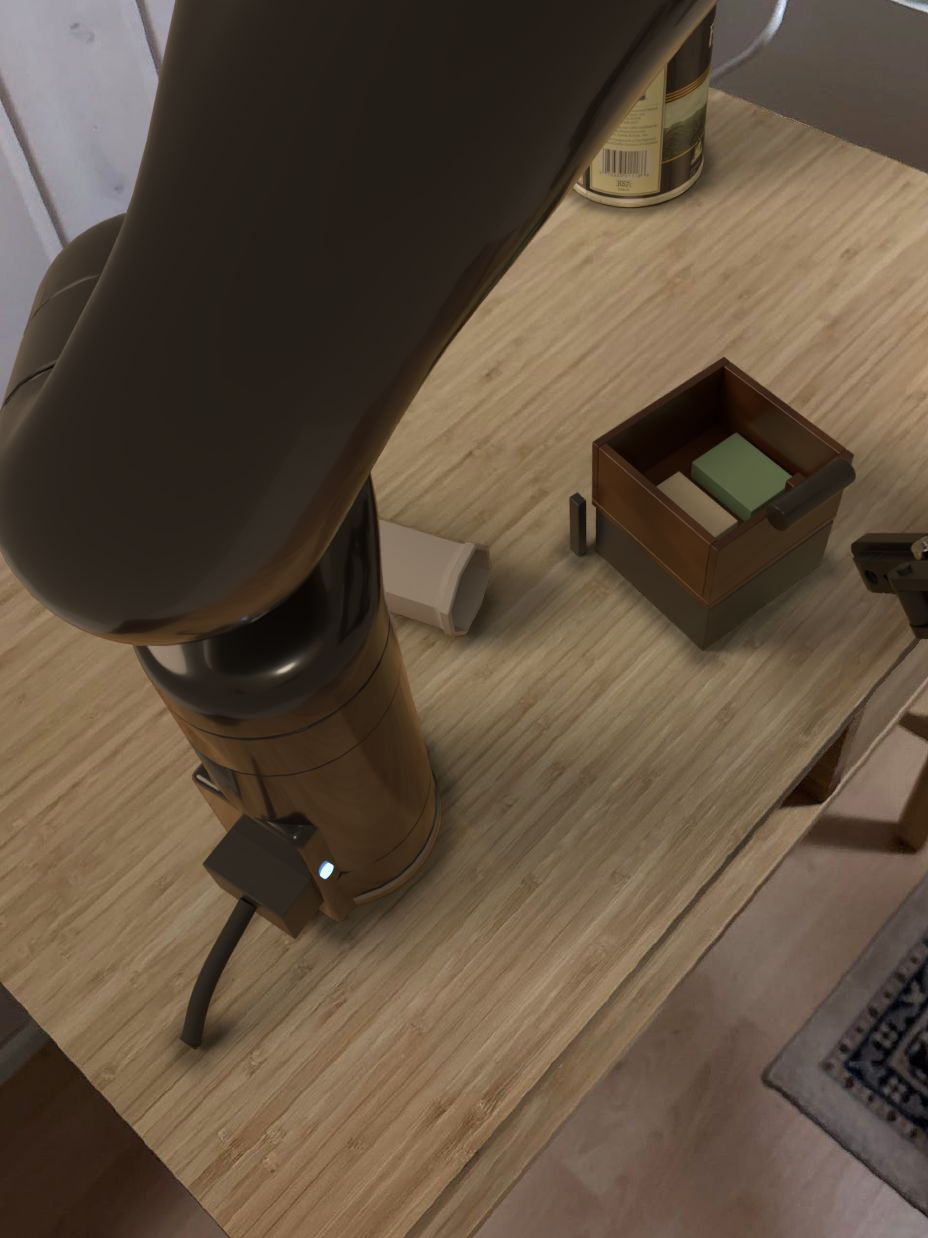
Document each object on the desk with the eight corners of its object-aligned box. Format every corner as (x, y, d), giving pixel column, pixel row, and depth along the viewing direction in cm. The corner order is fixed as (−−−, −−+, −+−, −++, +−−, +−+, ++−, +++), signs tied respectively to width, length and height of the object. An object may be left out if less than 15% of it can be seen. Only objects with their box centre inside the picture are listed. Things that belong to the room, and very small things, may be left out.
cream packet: (735, 535, 59) (738, 520, 58) (689, 567, 58) (691, 553, 57) (677, 485, 61) (678, 470, 60) (631, 516, 60) (632, 501, 59)
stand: (834, 554, 63) (850, 501, 59) (689, 662, 60) (695, 613, 57) (710, 453, 68) (717, 398, 64) (569, 548, 65) (568, 497, 61)
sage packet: (793, 494, 60) (796, 479, 59) (748, 526, 59) (751, 511, 58) (733, 446, 62) (736, 431, 61) (690, 476, 61) (691, 461, 60)
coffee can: (675, 108, 87) (689, -89, 75) (724, 189, 81) (747, -11, 69) (544, 138, 86) (538, -57, 75) (583, 222, 81) (583, 26, 69)
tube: (48, 494, 66) (440, 623, 58) (87, 412, 67) (478, 528, 59) (97, 526, 71) (464, 649, 63) (132, 449, 72) (498, 561, 64)
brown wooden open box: (862, 539, 59) (894, 443, 53) (733, 634, 56) (751, 545, 50) (714, 421, 64) (728, 322, 58) (591, 504, 62) (592, 409, 56)
